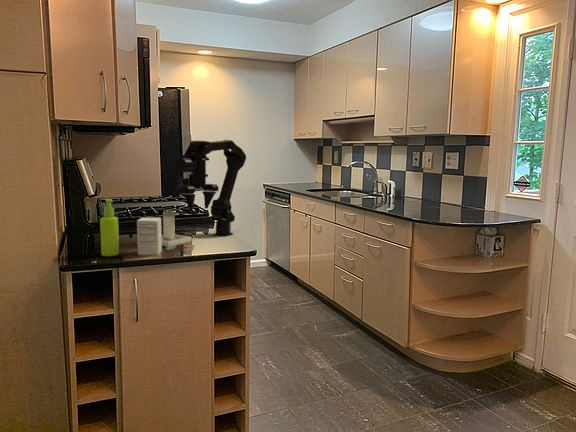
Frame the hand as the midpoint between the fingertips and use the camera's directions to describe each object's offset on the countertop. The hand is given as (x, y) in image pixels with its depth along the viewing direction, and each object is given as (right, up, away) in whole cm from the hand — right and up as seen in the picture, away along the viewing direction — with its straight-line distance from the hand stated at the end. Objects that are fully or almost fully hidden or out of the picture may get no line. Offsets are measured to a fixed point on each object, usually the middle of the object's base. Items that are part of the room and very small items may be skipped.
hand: (198, 209), depth 186 cm
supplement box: (-13, -16, -23) cm, 31 cm away
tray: (-11, -14, -4) cm, 18 cm away
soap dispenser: (-26, -17, -27) cm, 41 cm away
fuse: (-11, -13, -4) cm, 18 cm away
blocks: (-3, -15, -14) cm, 21 cm away
